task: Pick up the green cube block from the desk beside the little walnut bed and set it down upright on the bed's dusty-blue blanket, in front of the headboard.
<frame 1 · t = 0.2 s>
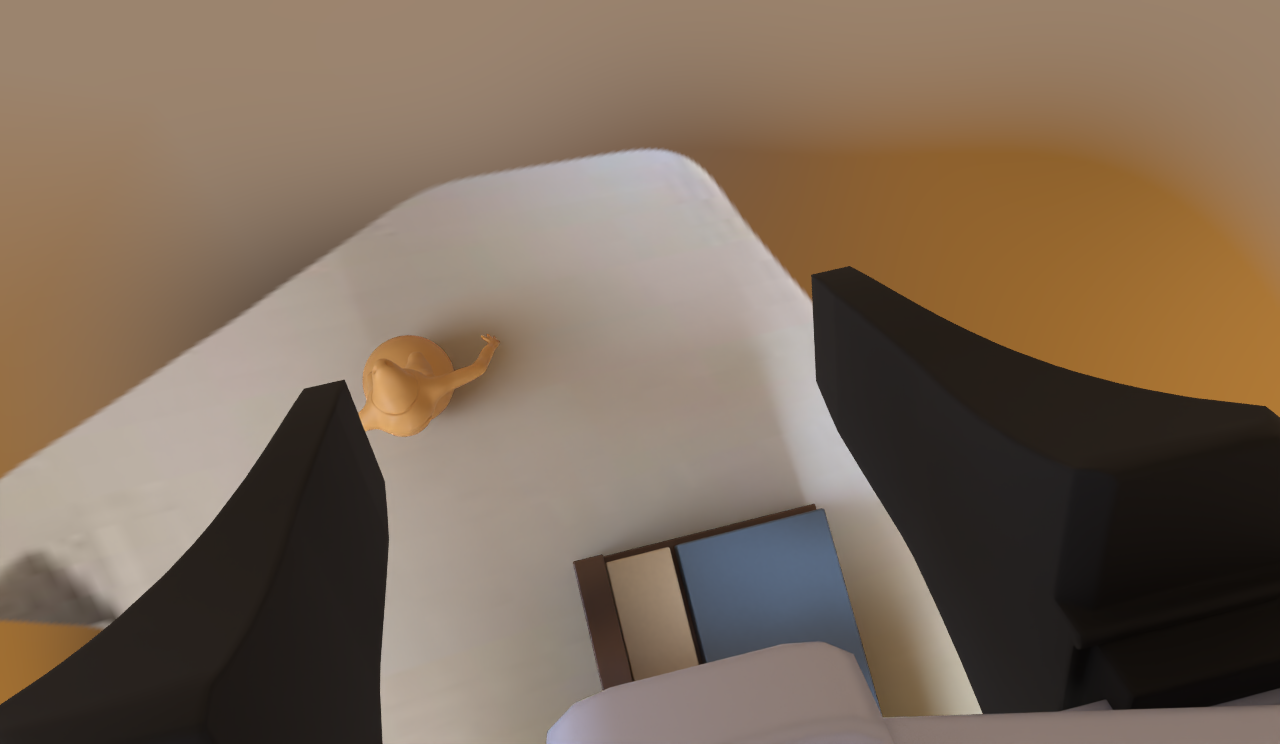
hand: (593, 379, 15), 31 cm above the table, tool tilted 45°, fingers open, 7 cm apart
bed: (728, 679, 45), on the table
figurine: (426, 409, 47), on the table
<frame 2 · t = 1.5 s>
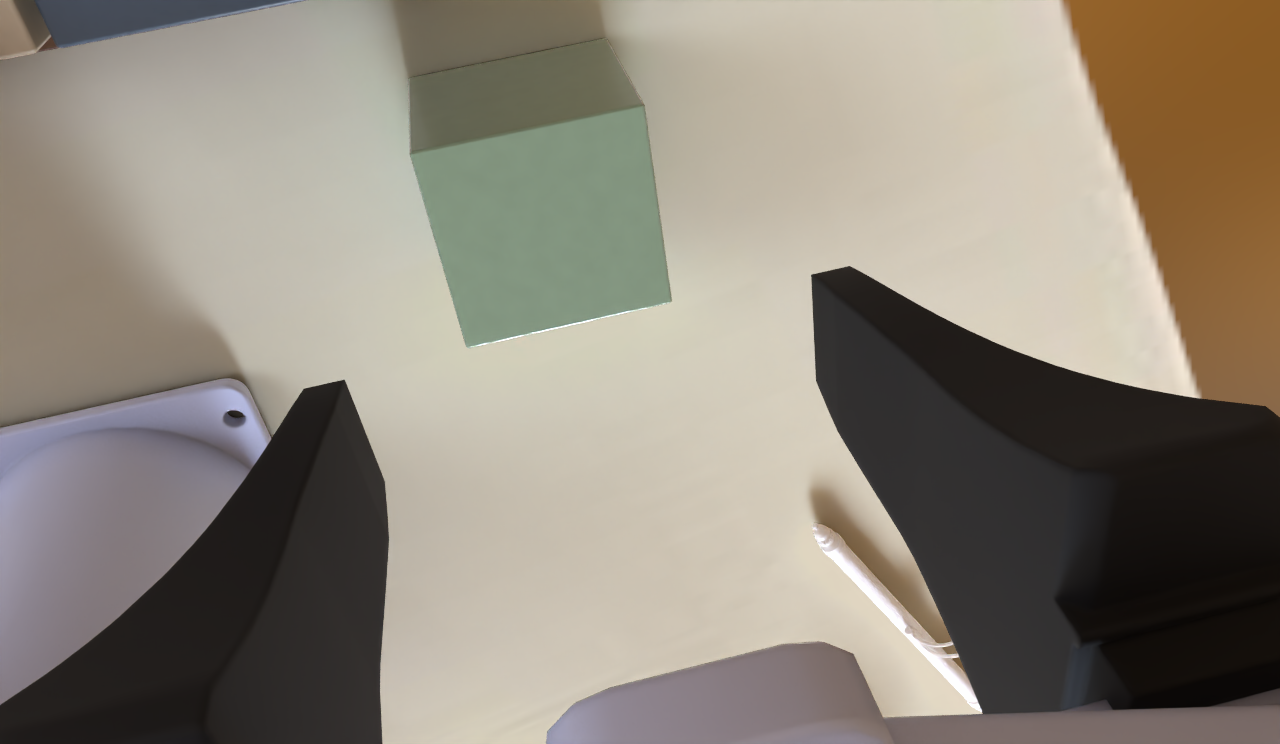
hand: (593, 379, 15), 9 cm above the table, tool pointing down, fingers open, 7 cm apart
green cube block: (528, 151, 23), on the table
picture light: (947, 588, 35), on the table
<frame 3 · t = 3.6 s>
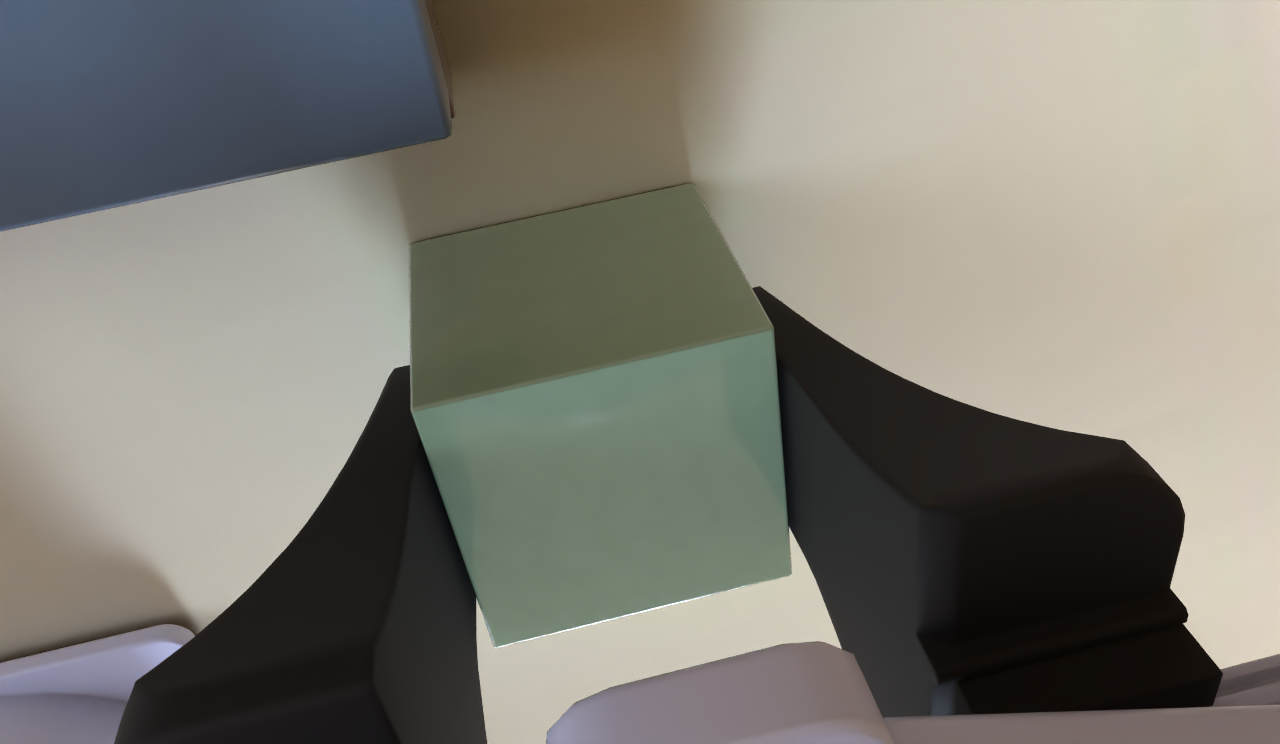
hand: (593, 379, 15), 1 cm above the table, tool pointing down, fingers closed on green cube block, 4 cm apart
green cube block: (577, 330, 17), on the table, touching gripper
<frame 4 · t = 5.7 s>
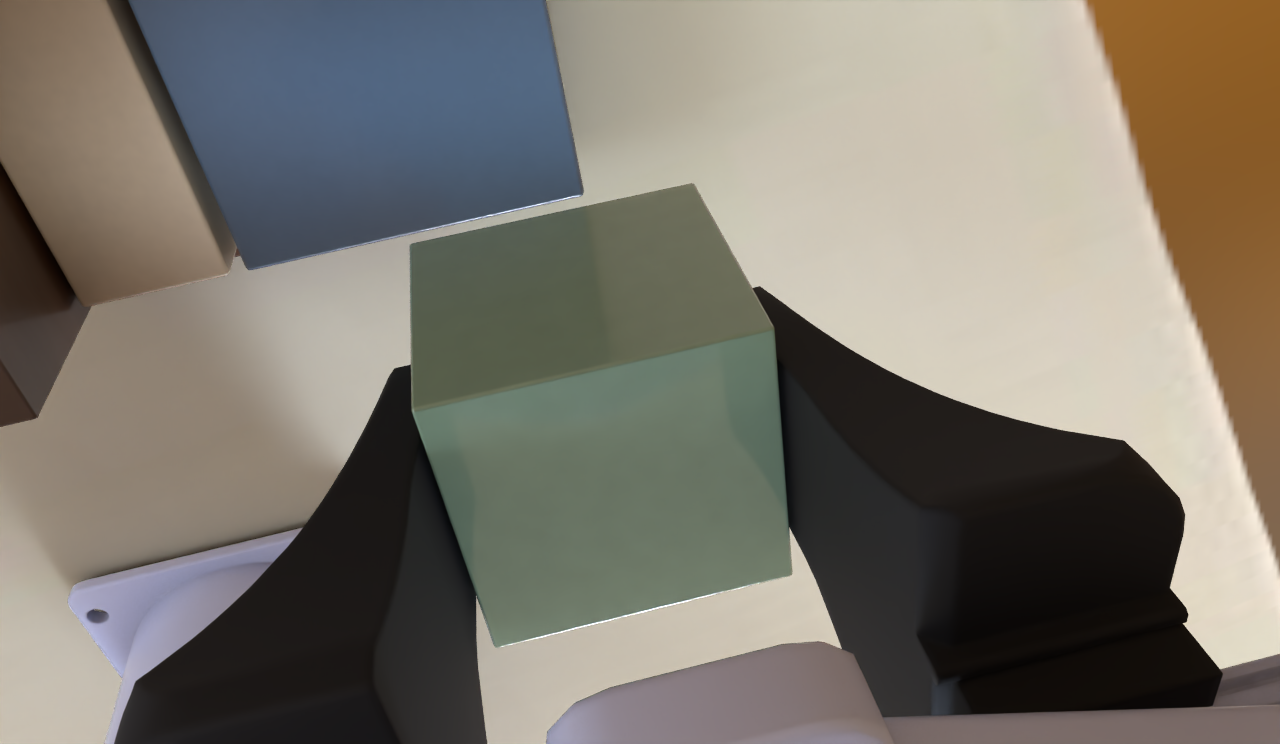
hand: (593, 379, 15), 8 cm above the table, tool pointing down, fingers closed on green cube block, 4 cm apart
green cube block: (578, 331, 17), point 7 cm above the table, touching gripper
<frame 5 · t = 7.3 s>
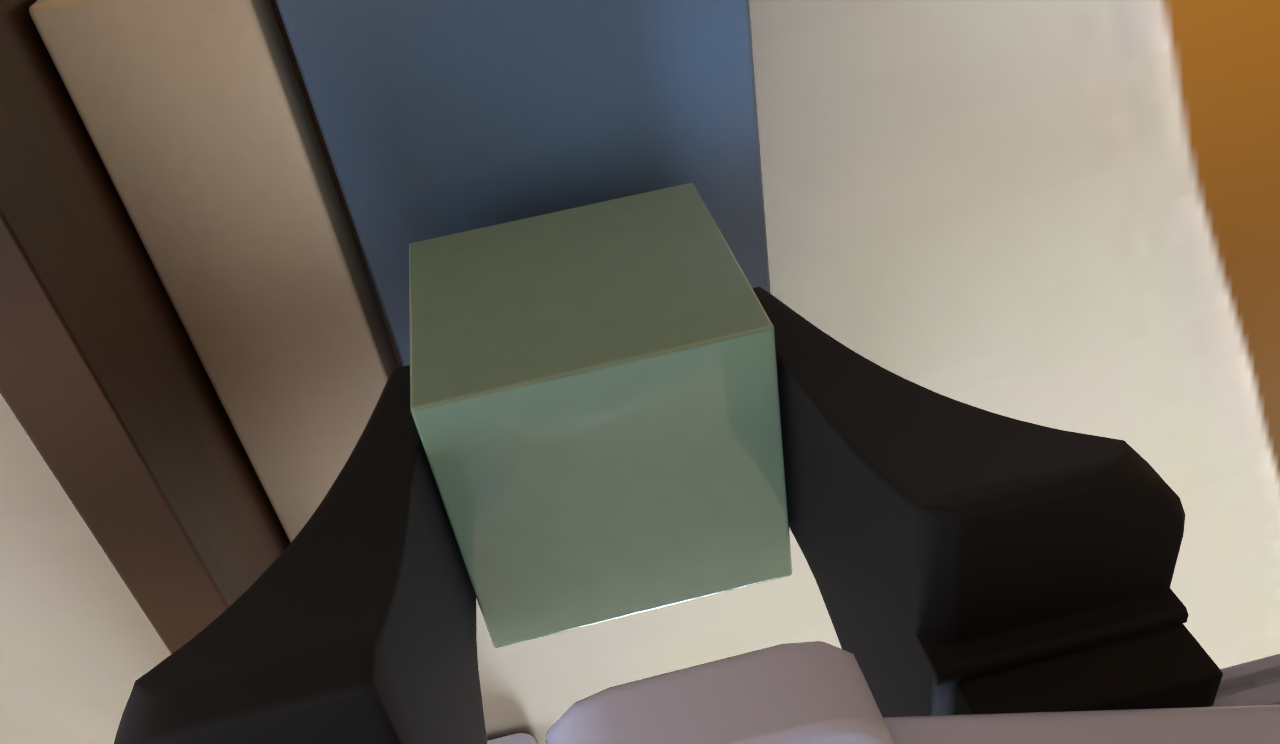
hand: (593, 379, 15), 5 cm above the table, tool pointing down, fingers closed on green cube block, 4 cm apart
green cube block: (577, 330, 17), point 4 cm above the table, touching gripper
bed: (450, 245, 20), on the table
when the fingers open (4 cm above the table, at t = 8.0 s): green cube block stays where it is, resting on bed.
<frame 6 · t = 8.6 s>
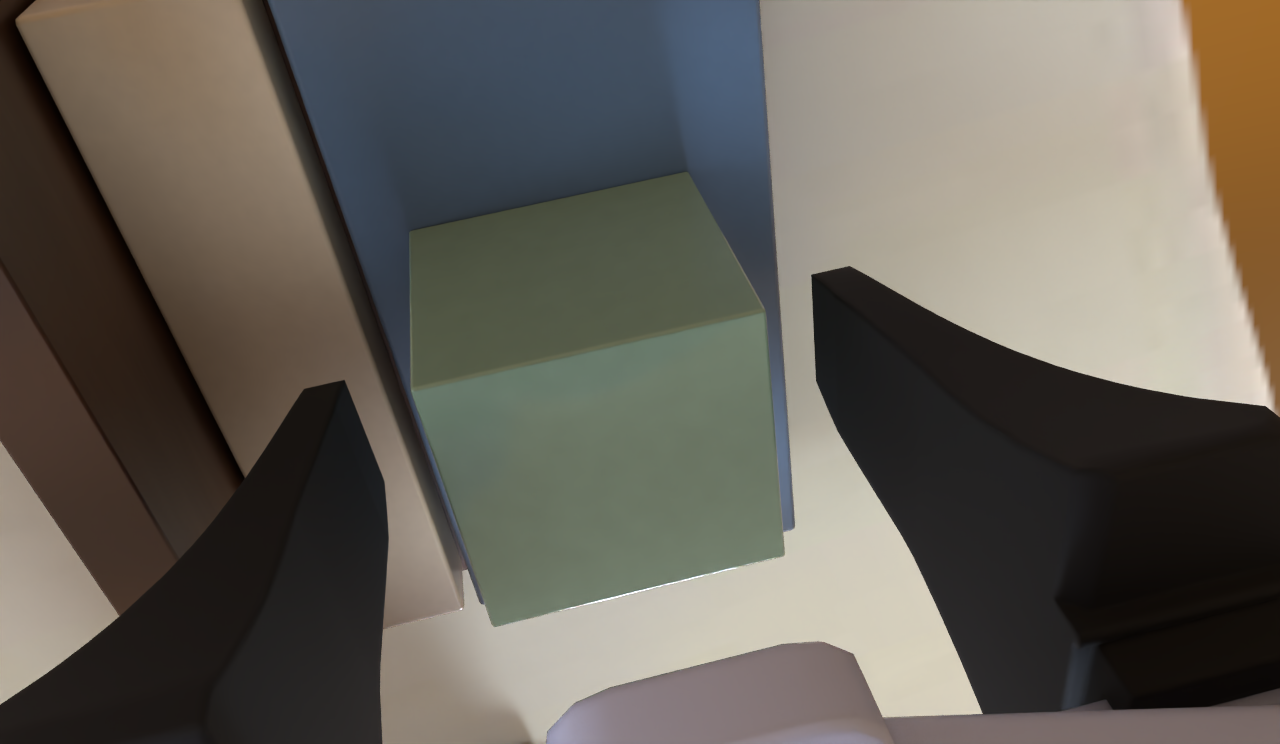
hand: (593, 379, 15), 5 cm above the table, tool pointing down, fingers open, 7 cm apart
green cube block: (574, 317, 17), point 3 cm above the table, touching bed
bed: (451, 258, 19), on the table
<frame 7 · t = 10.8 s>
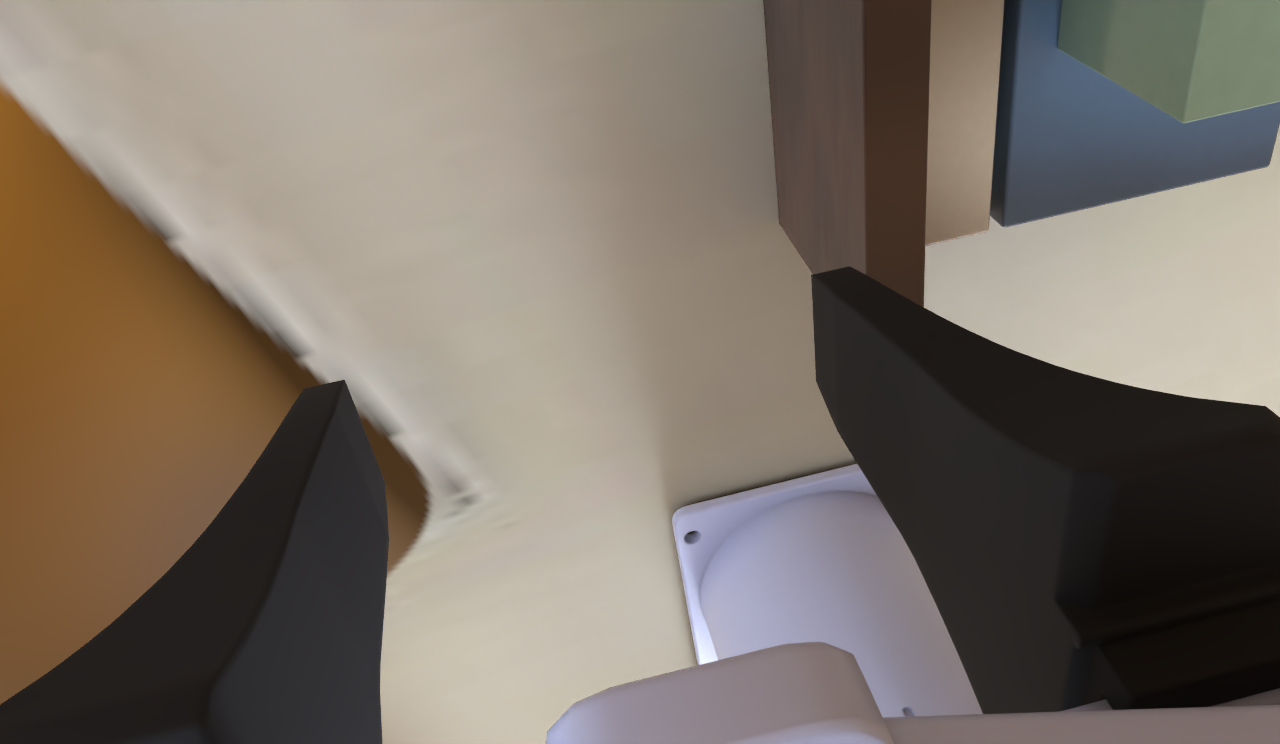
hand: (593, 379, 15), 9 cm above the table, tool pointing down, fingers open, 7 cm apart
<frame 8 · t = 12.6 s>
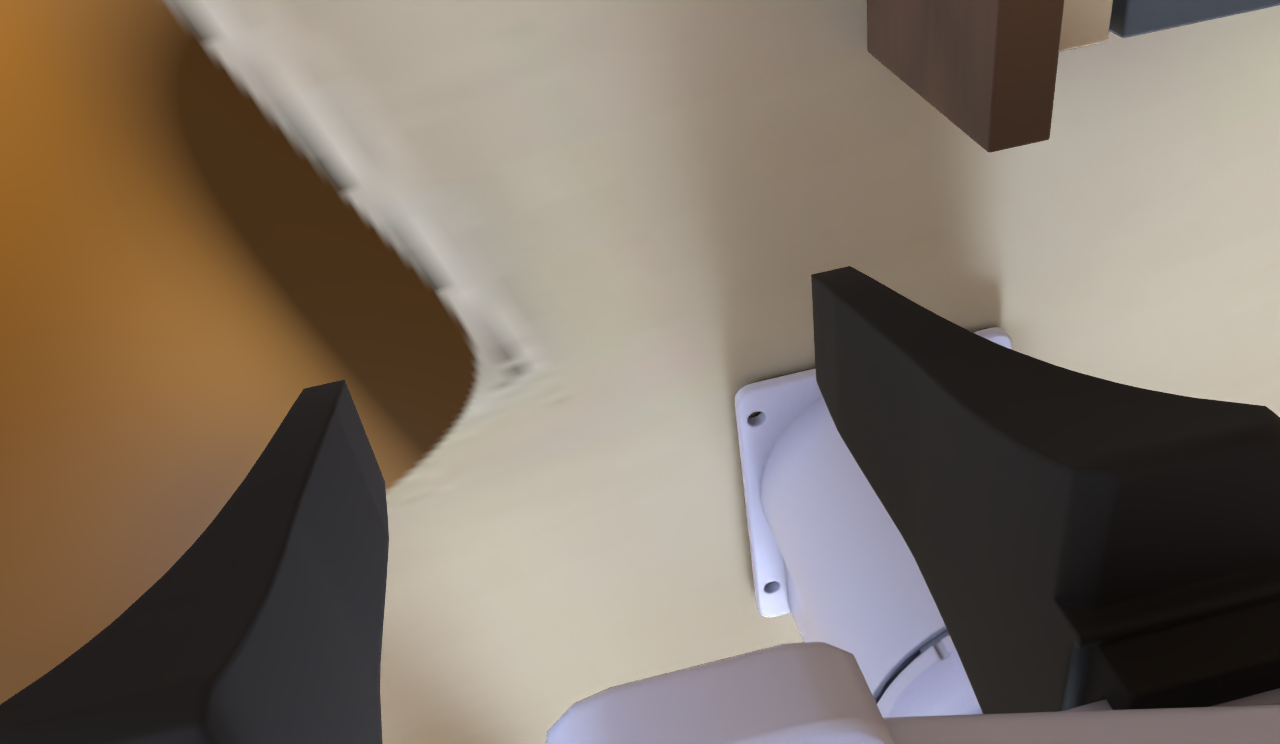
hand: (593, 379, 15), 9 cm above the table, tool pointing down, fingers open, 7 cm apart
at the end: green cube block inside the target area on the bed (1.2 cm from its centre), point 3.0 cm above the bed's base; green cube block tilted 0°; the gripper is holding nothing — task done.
